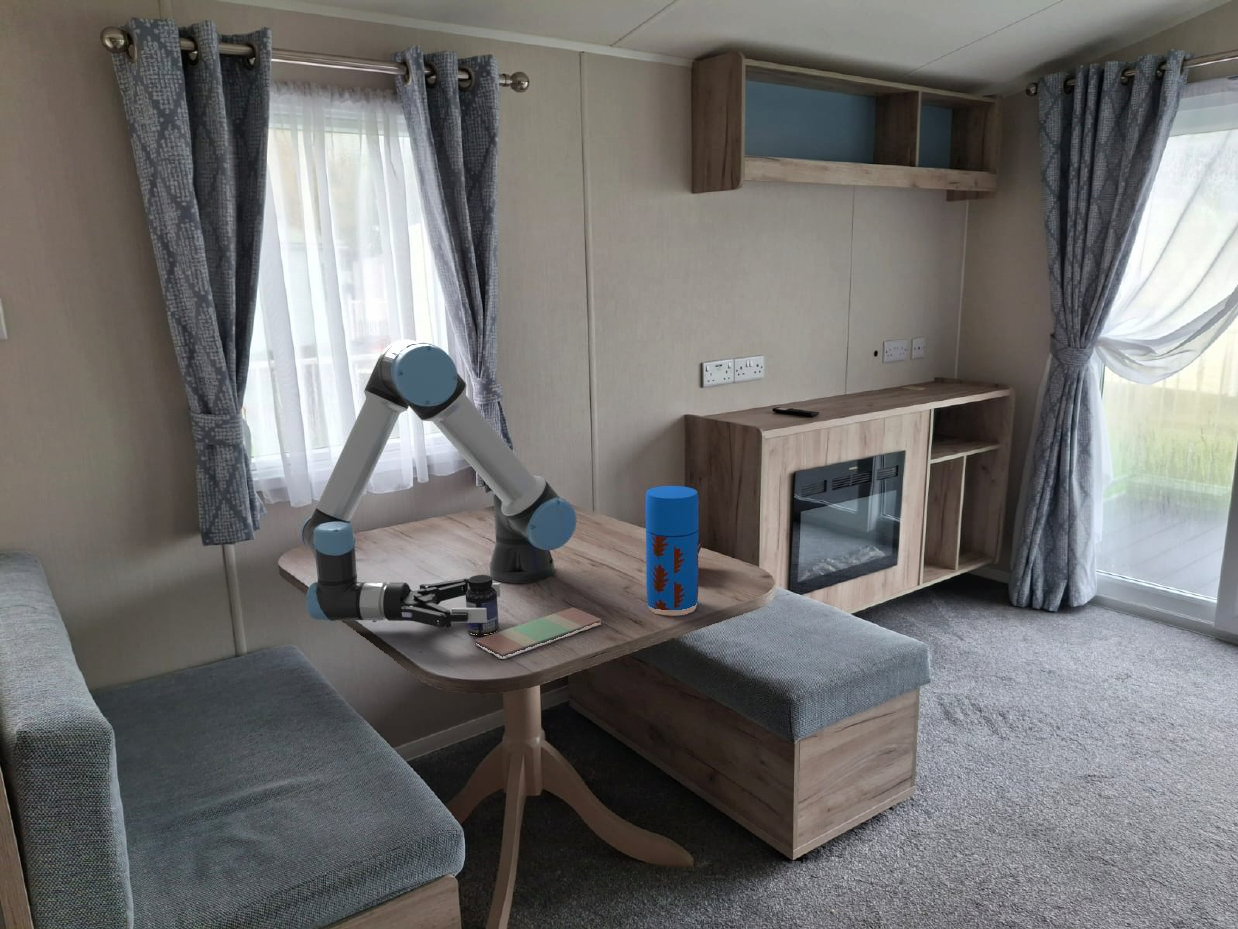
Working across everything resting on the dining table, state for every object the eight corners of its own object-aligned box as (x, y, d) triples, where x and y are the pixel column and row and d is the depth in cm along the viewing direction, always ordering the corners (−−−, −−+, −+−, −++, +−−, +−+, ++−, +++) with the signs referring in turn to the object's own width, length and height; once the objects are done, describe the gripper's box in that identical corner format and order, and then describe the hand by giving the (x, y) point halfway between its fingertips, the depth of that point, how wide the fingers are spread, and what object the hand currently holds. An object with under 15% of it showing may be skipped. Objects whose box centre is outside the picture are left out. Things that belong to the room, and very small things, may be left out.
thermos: (667, 594, 197) (666, 483, 192) (707, 605, 190) (708, 490, 185) (636, 609, 189) (634, 493, 184) (677, 621, 182) (677, 501, 177)
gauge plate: (475, 645, 172) (475, 639, 172) (573, 612, 187) (573, 607, 187) (502, 660, 165) (502, 654, 165) (601, 624, 181) (601, 619, 181)
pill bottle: (500, 624, 182) (497, 572, 180) (497, 636, 176) (494, 583, 174) (469, 625, 182) (466, 573, 179) (465, 637, 176) (462, 584, 173)
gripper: (406, 596, 192) (505, 597, 190) (367, 645, 167) (480, 646, 166) (404, 563, 190) (504, 563, 189) (364, 607, 166) (478, 607, 164)
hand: (493, 602), depth 177 cm, fingers open, 13 cm apart
